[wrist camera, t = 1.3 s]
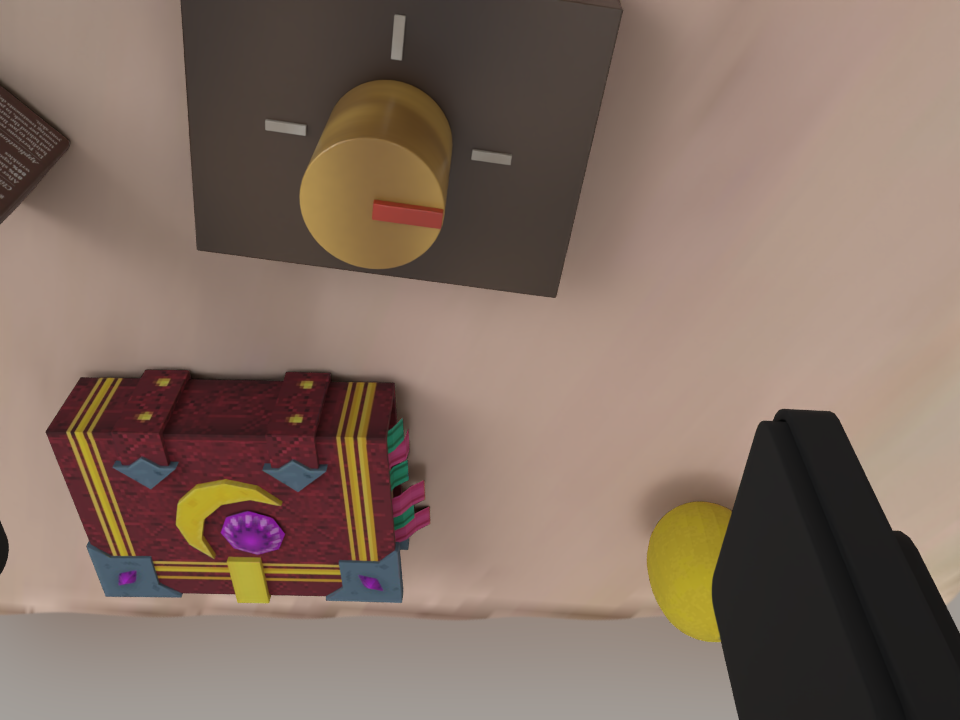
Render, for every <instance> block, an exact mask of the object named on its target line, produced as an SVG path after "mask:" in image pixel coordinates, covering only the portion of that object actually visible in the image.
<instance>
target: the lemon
mask: <svg viewBox="0 0 960 720" xmlns="http://www.w3.org/2000/svg"><path fill="white" fill-rule="evenodd" d="M731 513H732V511H731V510H729V509H728V508H725V507H723V506H720V505H718V504H715V503H709V502H690V503H685V504H683V505H680V506H678V507H676V508H674V509H673V510H671V511H669V512H668V513H667V514H666V515H665V516H664V517H663V518H662V519H661V520H660V521H659V522H658V523H657V525H656V527H655V529H654V531H653V532H652V534H651V537H650V541H649V546H648V552H647V568H648V574H649V580H650V584H651V588H652V591H653V594H654V596H655V598H656V600H657V602H658V604H659V606H660V608H661V610H662V611H663V613H664V614H665V616H666V617H667V619H668V620H669V621H670V622H671V623H672V624H673V625H674V626H675V627H676V628H677V629H679V630H680V631H681V632H683V633H684V634H686V635H688V636H691V637H693V638H695V639H698V640H702V641H707V642H721V640H720V635H719V631H718V626H717V622H716V618H715V613H714V609H713V604H712V579H713V574H714V570H715V567H716V564H717V560H718V557H719V554H720V550H721V547H722V544H723V540H724V537H725V534H726V530H727V527H728V523H729V520H730V517H731Z"/></svg>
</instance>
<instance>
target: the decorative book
mask: <svg viewBox="0 0 960 720" xmlns="http://www.w3.org/2000/svg"><path fill="white" fill-rule="evenodd" d="M46 434H47V436H48V439H49V441H50V444H51V446H52V449H53V451H54V454H55V456H56V459H57V461H58V464H59V466H60V469H61V471H62V474H63V476H64V479H65V481H66V484H67V486H68V489H69V491H70V494H71V496H72V499H73V501H74V504H75V506H76V509H77V511H78V514H79V516H80V519H81V521H82V524H83V526H84V529H85V531H86V534H87V536H88V539H89V542H88V544H87V546H86V547H87V550H88V552H89V555H90V557H91V560H92V562H93V565H94V567H95V570H96V573H97V575H98V578H99V580H100V583H101V585H102V588H103V590H104V593H105V596H106V597H182V594H183V593H199V594H236V598H237V602H238V603H269V601H270V598H271V595H294V596H326V601H359V602H393V603H402V598H403V580H402V569H401V557H400V550H408V547H409V537H410V536H411V535H412V534H413V533H415V532H416V531H417V530H419V529H421V528H423V527H425V526H427V525H429V524H430V507H427V508H425V509H423V510H421V511H419V512H417V513H415V514H414V504H416V503H418V502H420V501H422V500H425V483H424V480H423V481H421V482H419V483H417V484H415V485H413V486H411V487H409V488H408V489H407V490H406V491H404V492H403V493H402V483H404V482H406V481H408V480H409V475H408V460H406V459H407V456H408V453H409V450H410V448H409V432H408V431H407V434H406V436H405V438H404V431H403V418H402V419H401V420H400V421H399V422H398V423H397V411H396V397H395V383H378V382H331V375H330V373H306V372H286V374H285V377H284V380H283V381H261V380H202V379H191V375H190V371H188V370H145V371H144V373H143V375H142V377H141V378H85V377H81V378H80V379H79V381H78V382H77V384H76V385H75V387H74V389H73V390H72V392H71V393H70V395H69V396H68V398H67V399H66V401H65V402H64V404H63V406H62V407H61V409H60V410H59V412H58V413H57V415H56V416H55V418H54V419H53V421H52V423H51V424H50V426H49V427H48V429H47V430H46ZM404 460H406V461H404ZM402 461H404V462H402ZM400 462H402V463H400Z"/></svg>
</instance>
